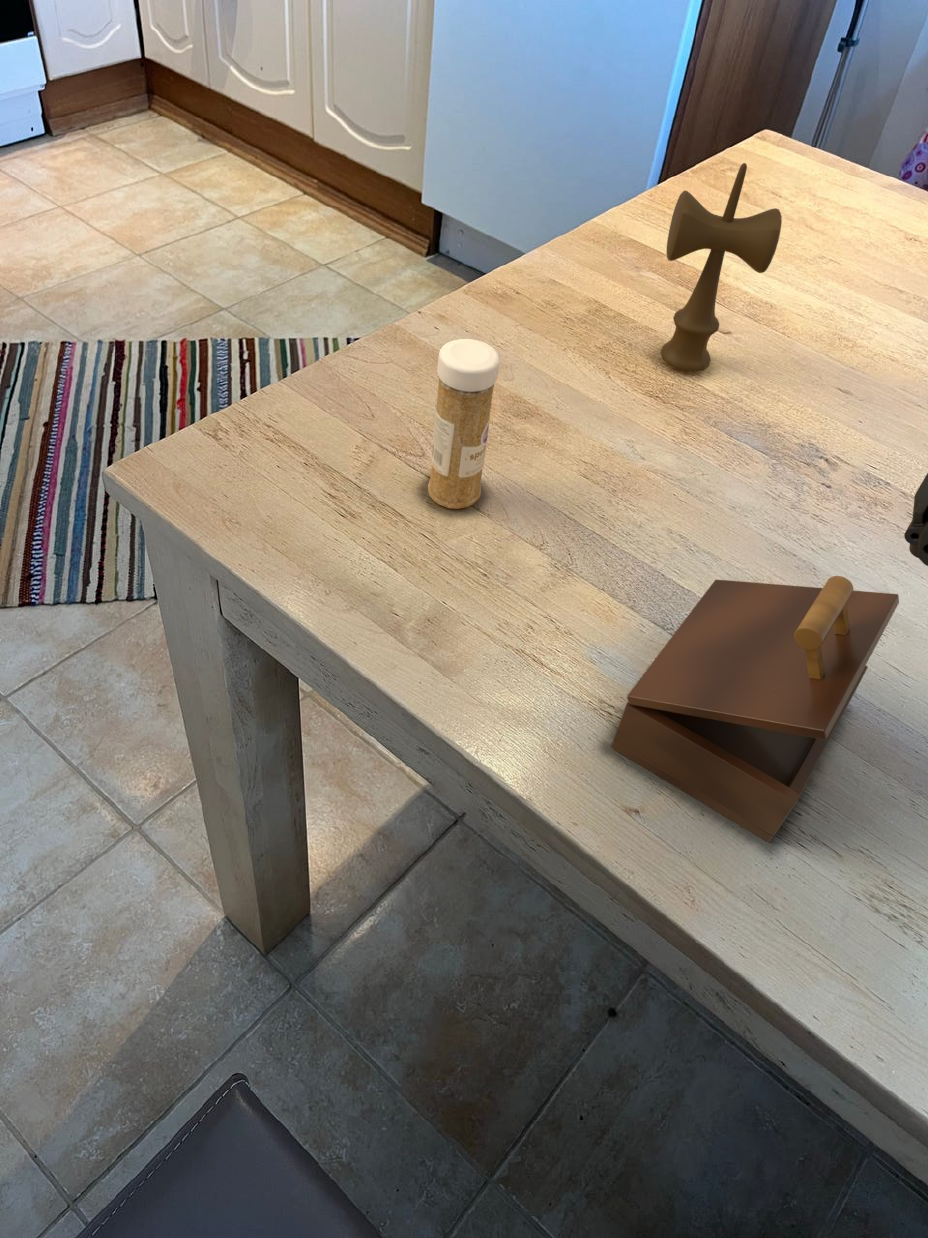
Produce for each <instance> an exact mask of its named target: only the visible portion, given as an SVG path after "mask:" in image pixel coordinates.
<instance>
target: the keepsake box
mask: <svg viewBox="0 0 928 1238" xmlns="http://www.w3.org/2000/svg"><path fill="white" fill-rule="evenodd" d="M868 667H869V666H868V665H866V666H865V667H864V669H863V671H862V673H861V675H860V677H859V679H858V681H857V682H856V684H855V686H854V688H853V690H852V692H851V694H850V696H849V697H848V699H847V701H846V703H845V705H844V707H843V709H842V711H841V712H840V714H839V716H838V718H837V720H836V722H835V724H834V726H833V727H832V729H831V731H830V733H829V735H828V737H827V739H826V740H823V739H818V738H812V737H807V736H801V735H796V734H790V733H785V732H779V731H774V730H768V729H763V728H757V727H752V726H746V725H741V724H735V723H730V722H724V721H719V720H713V719H708V718H702V717H697V716H691V715H686V714H680V713H675V712H669V711H664V710H658V709H653V708H647V707H642V706H636V705H631V704H629V702H628V701H627V702H626V704H625V707H624V709H623V712H622V714H621V718H620V720H619V723H618V726H617V728H616V731H615V734H614V737H613V739H612V742H611V744H610V748H611V749H612V750H614V751H616V752H617V753H619V754H621V755H622V756H625V758H627V759H629V760H632V762H634V763H636V764H638V766H641V767H643V768H644V769H646V770H648V771H649V772H651V773H653V774H654V775H656V776H658V777H660V778H661V779H663V780H664V781H666V782H667V783H670V784H671V785H672V786H674V787H676V788H677V789H679V790H680V791H683V792H684V793H686V794H688V795H689V796H691V797H692V798H694V799H696V800H698V801H699V802H701V803H703V804H704V805H705V806H707V807H709V808H710V809H713V810H714V811H716V812H717V813H719V814H721V815H722V816H724V817H726V818H728V819H729V820H731V821H733V822H734V823H736V824H738V826H741V827H743V828H744V829H746V830H747V831H749V832H750V833H753V834H754V835H756V836H758V837H759V838H760V839H762V840H764V841H766V842H767V843H771V841H772V840H773V838H774V836H775V835H776V834H777V833H778V831H779V829H780V828H781V826H782V825H783V823H784V822H785V820H786V819H787V818H788V816H789V815H790V813H791V812H792V810H793V808H794V807H795V805H796V804H797V802H798V800H799V799H800V797H801V795H802V793H803V791H804V790H805V787H806V785H807V783H808V782H809V779H810V777H811V776H812V774H813V772H814V770H815V768H816V766H817V765H818V763H819V761H820V759H821V757H822V756H823V753H824V752H825V750H826V748H827V746H828V744H829V742H830V740H831V738H832V736H833V735H834V732H835V730H836V729H837V727H838V725H839V723H840V721H841V719H842V718H843V715H844V714H845V712H846V710H847V708H848V706H849V704H850V703H851V700H852V698H853V697H854V695H855V693H856V692H857V689H858V687H859V685H860V683H861V681H862V680H863V678H864V676H865V674H866V672H867V671H868Z"/></svg>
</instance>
